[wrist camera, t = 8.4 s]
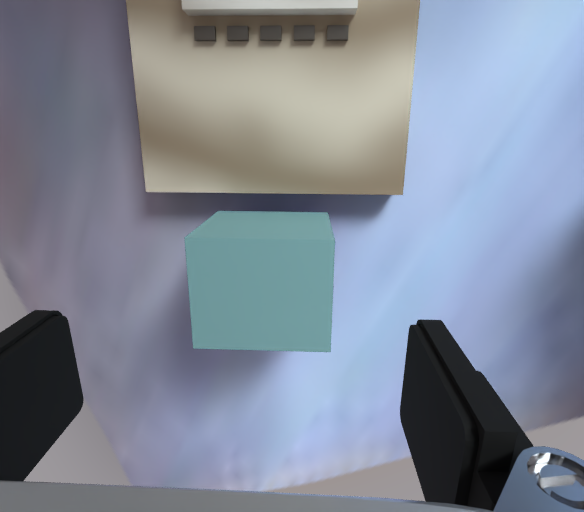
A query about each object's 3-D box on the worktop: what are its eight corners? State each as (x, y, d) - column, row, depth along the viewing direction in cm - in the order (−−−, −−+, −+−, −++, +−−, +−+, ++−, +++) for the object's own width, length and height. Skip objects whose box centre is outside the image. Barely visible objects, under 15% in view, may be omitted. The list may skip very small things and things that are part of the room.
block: (218, 211, 21) (184, 237, 15) (327, 212, 21) (334, 240, 15) (222, 295, 23) (193, 348, 17) (325, 297, 22) (330, 352, 17)
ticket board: (122, -204, 18) (87, -269, 15) (427, -213, 17) (451, -282, 14) (159, 187, 23) (138, 194, 20) (394, 190, 23) (407, 197, 20)
